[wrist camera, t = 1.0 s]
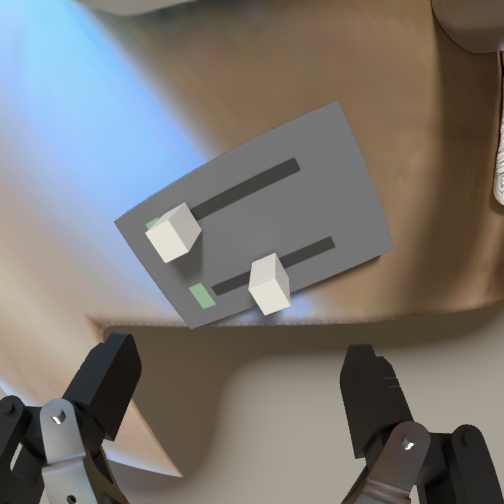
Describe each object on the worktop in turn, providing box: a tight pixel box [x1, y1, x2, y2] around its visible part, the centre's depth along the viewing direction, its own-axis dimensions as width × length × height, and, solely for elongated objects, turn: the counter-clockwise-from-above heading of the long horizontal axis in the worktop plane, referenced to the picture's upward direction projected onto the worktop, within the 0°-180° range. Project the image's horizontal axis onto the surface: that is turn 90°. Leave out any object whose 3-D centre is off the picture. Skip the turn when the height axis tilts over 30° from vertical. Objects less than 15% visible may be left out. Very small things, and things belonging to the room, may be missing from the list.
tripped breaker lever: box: [248, 253, 291, 315], centre depth 26 cm, size 2×3×4 cm
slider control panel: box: [114, 101, 394, 329], centre depth 28 cm, size 24×15×3 cm, turn 118°
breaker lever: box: [145, 202, 201, 263], centre depth 24 cm, size 2×3×4 cm
